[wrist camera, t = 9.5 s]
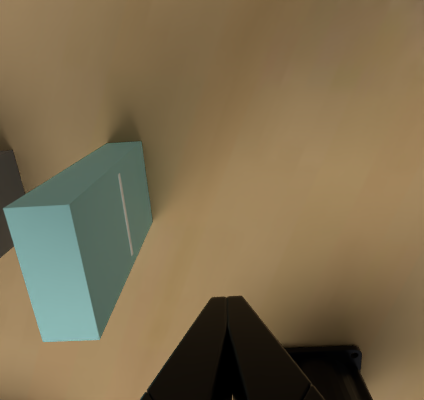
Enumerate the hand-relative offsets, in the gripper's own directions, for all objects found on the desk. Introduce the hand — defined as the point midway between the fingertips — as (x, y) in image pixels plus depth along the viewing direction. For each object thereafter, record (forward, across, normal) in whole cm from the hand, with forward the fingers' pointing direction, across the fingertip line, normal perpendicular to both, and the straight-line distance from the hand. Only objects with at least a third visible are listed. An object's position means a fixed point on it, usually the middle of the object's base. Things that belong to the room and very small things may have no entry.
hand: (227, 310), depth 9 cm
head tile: (+12, +6, 0) cm, 13 cm away
